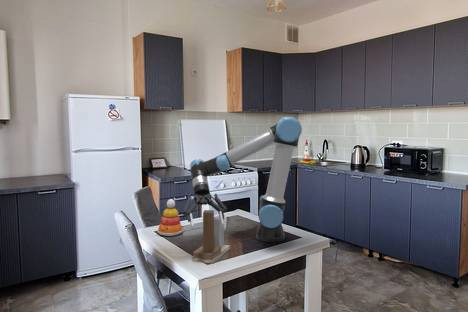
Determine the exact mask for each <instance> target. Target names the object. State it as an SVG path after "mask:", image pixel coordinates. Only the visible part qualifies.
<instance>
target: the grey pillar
mask: <svg viewBox="0 0 468 312" xmlns="http://www.w3.org/2000/svg"><path fill="white" fill-rule="evenodd" d="M224 220H225V218H224V219H223V222H224ZM224 227H225V226H224V224H223V227H221V224H220V218H219V215H218V216H217V215H215V216H214V237H215V246H220V247H222V246H223V245H225V244H224V243H225V242H224V238H225V237H224V234H225V233H224V230H225V229H224Z"/></svg>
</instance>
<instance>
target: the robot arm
mask: <svg viewBox="0 0 468 312" xmlns="http://www.w3.org/2000/svg"><path fill="white" fill-rule="evenodd" d="M302 131H303V128H302V124H301V122H300V121H299V120H298V119H297V118H295V117H292V116H285V117H282V118H281V119H279V121H278V122H276V124H273V125H272V126H270V127H269V128H268V130H267V131H265V132H263V133H262V132H261V134H259V135H257V136H254V137H253V138H251V139H248V140H247V141H245V142H242V143H241V144H239V145H237V146H235V147H233V148H231V149H229V150H227V151H225V152H223V153H221V154H220V155H219V154H218V155H217V156H216V157H213V158H210V159H208V160H205V161H204V160H203V159H201V158H198V159H197V158H196V159H193V160H192V161H191V162H190V165H189V166H190V171H189V172H190V176H191V182H192V188H193V196H192V195H191V194H189V195H188V197H187V202H186V204H185V205H184V208H183V212H182V215H183V216H186V217H187V222H189V223H190V229H191V230H193V229H194V220H193V219H194V218H193V211H194V210H196V208H197V207H198V206H202V205H203V206H206V205H208V206H210V207H212V209H213V210H214V209H215V210H214V211H217V213H218V216H219V218H220V224H221V227H223V224H224V222H223V219H224V220H225V213H227V209H228V208H227V206H226V205H225V204H224V203H223V202H222V200H221V199H220V198H219V197H218V194H217V193H214V194H211V191H210V185H209V181H208V177H210V176H213V175H216V174H219V173H221V172H225V171H226V170H229V169H230V166H232V165H234V164H236V163H238V162H240V161H243V160H244V159H246V158H249V157H250V156H252V155H254V154H257V153H259V152H260V151H263V150H264V149H266V148H269V147H271V146H273V145H274V146H275V150H274V154H273V159H272V163H271V169H270V173H269V178H268V182H267V183H268V184H267V188H266V192H265V194H264V195H260V197H259V210H258V220H259V224H258V227H257V231H256V233H255V234H256V239H257V240H258V241H261V242H264V243H279V242H282V241H284V240H285V239H286V234H285V230H284V228H283V225H282V223H283V220H284V211H285V207H286V202H287V201H286V200H285V199H284V196H285V191H286V186H287V183H288V176H289V173H290V168H291V163H292V159H293V154H294V150H295V149H297V148H298V146H299V145H298V144H299V141H300V140H299V139H300V136H301V135H302V133H303V132H302ZM193 200H194V201H195V202H194V203H193V204H192V205H191V202H192V201H193ZM213 200H214V201H213ZM190 205H191V206H190ZM189 207H190V208H189Z"/></svg>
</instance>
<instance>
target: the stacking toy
mask: <svg viewBox="0 0 468 312" xmlns="http://www.w3.org/2000/svg"><path fill="white" fill-rule="evenodd" d="M175 206H176V202H175V200H174V199H173V198H170V199H168V200H167V201H166V208H165V209H164V211H163V213H162V216H161V219H160V223H159V225H158V228H157V230H156V231H157V233H158V234H159V235H160V236H161V235H162V236H165V237H166V236H168V237H173V236H177V235H180V234H182V233H183V232H184V228H183V226H182V224H181V218H180V216H179V212H178V209H176V208H175Z"/></svg>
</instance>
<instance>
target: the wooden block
mask: <svg viewBox="0 0 468 312" xmlns="http://www.w3.org/2000/svg"><path fill="white" fill-rule="evenodd" d="M214 217H215V210H214V209H211V210H210V209H209V210H208V209H205V210H204V211H203V212H202V233H203V234H202V243H203V244H202V245H203V252H214V247H215V237H214Z"/></svg>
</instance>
